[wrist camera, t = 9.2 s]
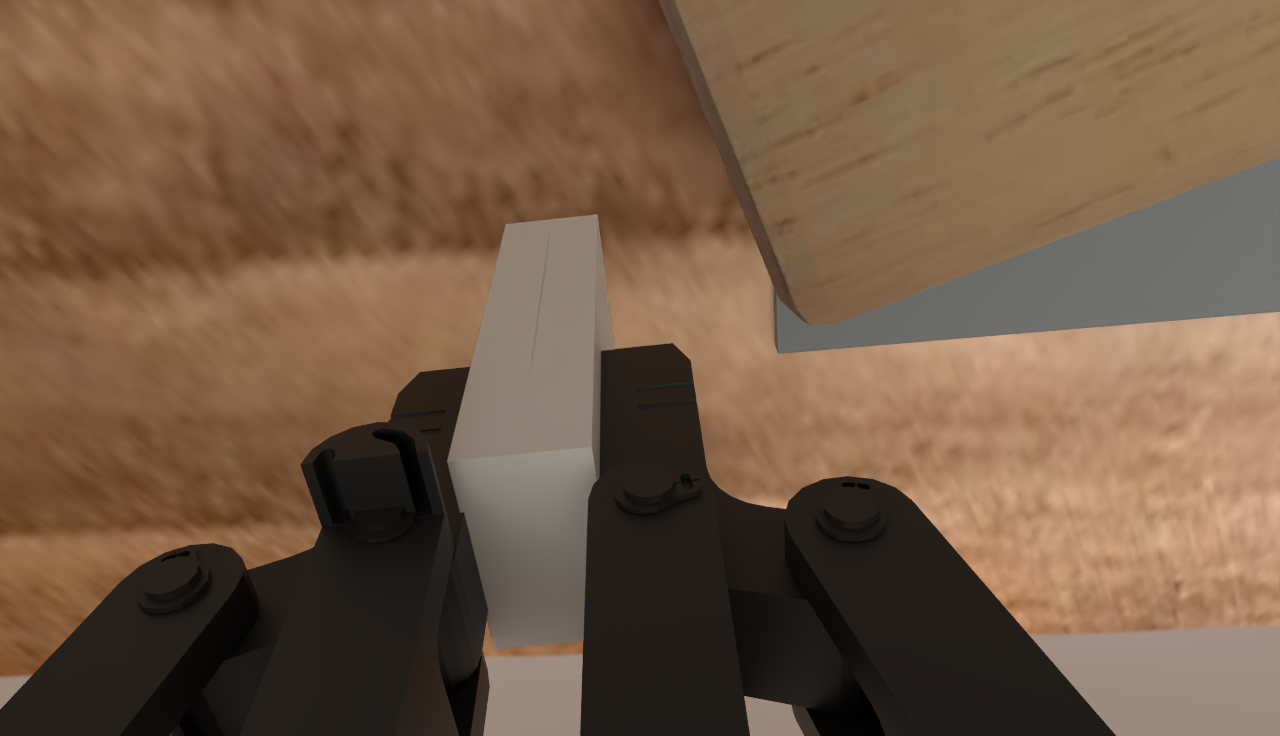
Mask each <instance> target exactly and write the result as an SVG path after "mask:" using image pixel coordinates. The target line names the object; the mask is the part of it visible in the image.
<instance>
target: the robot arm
mask: <svg viewBox="0 0 1280 736" xmlns="http://www.w3.org/2000/svg"><path fill="white" fill-rule="evenodd" d="M300 465H301V468H302V470H303V473H304V476H305V479H306V482H307V485H308V488H309V491H310V494H311V496H312V499H313V502H314V505H315V508H316V511H317V514H318V517H319V520H320V522H321V525H322V529H321V531H320V534H319V536H318V539H317V541H316V544H315V546H314V547H313V548H311V549H309V550H307V551H304V552H301V553H299V554H296V555H294V556H291V557H288V558H285V559H282V560H279V561H275V562H272V563H269V564H266V565H263V566H259V567H256V568H253V569H250V570H247V569H246V566H245V564H244V562H243V559H242V558H241V557H240V556H239V555H238V554H237V553H236V552H235V551H234V550H233V549H232V548H230V547H226V546H222V545H218V544H214V543H212V544H198V545H189V546H186V547H182V548H178V549H176V550H172V551H169V552H166V553H164V554H162V555H160V556H158V557H156V558H154V559H152V560H150V561H148V562H147V563H145V564H143V565H141V566H139V567H138V568H137V569H136V570H135V571H133V572H132V573H131V574H130V575H129V576H127V577H126V578H125V579H124V580H122V581H121V582H120V583H119V584H118V585H117V586H116V587H115V588H114V589H113V591H112V592H111V593H110V594H109V595H108V596H107V597H106V598H105V599H104V600H103V601H102V602H101V603H100V604H99V605H98V606H97V607H96V609H95V610H94V611H93V612H92V613H91V614H90V615H89V616H88V617H87V618H86V619H85V620H84V621H83V622H82V623H81V624H80V626H79V627H78V628H77V629H76V630H75V631H74V632H73V633H72V634H71V635H70V636H69V637H68V638H67V639H66V640H65V641H64V643H63V644H62V645H61V646H60V647H59V648H58V649H57V650H56V651H55V652H54V653H53V654H52V655H51V656H50V657H49V658H48V659H47V661H46V662H45V663H44V664H43V665H42V666H41V667H40V668H39V669H38V670H37V671H36V672H35V673H34V674H33V675H32V676H31V678H30V679H29V680H28V681H27V682H26V683H25V684H24V685H23V686H22V687H21V688H20V689H19V690H18V692H16V693H15V695H14V696H13V697H12V698H11V699H10V700H9V701H8V702H7V703H6V704H5V705H4V706H3V707H2V708H1V709H0V736H483V732H484V724H485V717H486V710H487V702H488V694H489V687H490V686H489V678H488V670H487V666H486V662H485V658H484V655H483V651H482V647H483V641H484V634H485V627H486V621H487V622H488V626H489V630H490V634H491V638H492V642H493V646H494V650H495V649H506V648H516V647H526V646H537V645H547V644H558V643H568V642H579V641H583V670H582V701H581V730H580V736H750V733H749V727H748V720H747V713H746V706H745V700H744V696H748V697H753V698H759V699H764V700H770V701H774V702H780V703H785V704H790V705H792V708H793V713H794V716H795V719H796V721H797V722H798V724H799V726H800V728H801V730H802V732H803V734H804V736H1116V735H1115V734H1114V733H1113V732H1112V730H1111V729H1110V728H1109V727H1108V726H1107V725H1106V724H1105V722H1104V721H1103V720H1102V719H1101V718H1100V717H1099V715H1097V713H1096V712H1095V711H1094V710H1093V709H1092V707H1091V706H1090V705H1089V704H1088V703H1087V702H1086V700H1085V699H1084V698H1083V697H1082V696H1081V695H1080V694H1079V692H1078V691H1077V690H1076V689H1075V688H1074V687H1073V686H1072V684H1071V683H1070V682H1069V681H1068V680H1067V679H1066V677H1065V676H1064V675H1063V674H1062V673H1061V672H1060V670H1058V668H1057V667H1056V666H1055V665H1054V664H1053V662H1052V661H1051V660H1050V659H1049V658H1048V657H1047V656H1046V655H1045V653H1044V652H1043V651H1042V650H1041V649H1040V647H1039V646H1038V645H1037V644H1036V643H1035V642H1034V640H1033V639H1032V638H1031V637H1030V636H1029V635H1028V634H1027V632H1026V631H1025V630H1024V629H1023V628H1022V627H1021V625H1020V624H1019V623H1018V622H1017V621H1016V620H1015V619H1014V617H1013V616H1012V615H1011V614H1010V613H1009V612H1008V610H1007V609H1006V608H1005V607H1004V606H1003V605H1002V604H1001V602H1000V601H999V600H998V599H997V598H996V597H995V595H994V594H993V593H992V592H991V591H990V590H989V589H988V587H987V586H986V585H985V584H984V583H983V582H982V580H981V579H980V578H979V577H978V576H977V575H976V574H975V572H974V571H973V570H972V569H971V568H970V567H969V565H968V564H967V563H966V562H965V561H964V560H963V559H962V557H961V556H960V555H959V554H958V553H957V552H956V550H955V549H954V548H953V547H952V546H951V545H950V543H949V542H948V541H947V540H946V539H945V538H944V537H943V535H942V534H941V533H940V532H939V531H938V530H937V528H936V527H935V526H934V525H933V524H932V523H931V522H930V520H929V519H928V518H927V517H926V516H925V515H924V513H923V512H922V511H921V510H920V509H919V508H918V507H917V505H916V504H915V503H914V502H913V501H912V500H911V499H910V498H908V497H907V496H906V495H904V494H903V493H902V492H901V491H899V490H898V489H897V488H895V487H893V486H890V485H887V484H885V483H882V482H879V481H877V480H874V479H867V478H858V477H849V476H846V477H838V478H830V479H823V480H820V481H818V482H816V483H813V484H811V485H808V486H806V487H804V488H802V489H801V490H800V491H799V492H798V493H797V494H796V495H795V496H794V497H793V498H791V499H790V500H789V502H788V505H787V508H786V509H781V508H773V507H765V506H760V505H755V504H751V503H746V502H744V501H741V500H739V499H736V498H734V497H731V496H730V495H728V494H727V493H725V492H724V491H723V490H721V489H720V488H718V486H717V485H716V484H715V483H714V482H713V481H712V479H711V478H710V475H709V473H708V470H707V467H706V460H705V454H704V447H703V441H702V434H701V427H700V421H699V414H698V408H697V402H696V394H695V388H694V381H693V375H692V368H691V361H690V360H689V359H688V358H687V357H686V356H685V355H684V354H683V353H682V352H681V351H680V350H679V349H678V348H677V347H676V346H675V345H674V344H673V343H671V344H661V345H651V346H642V347H632V348H622V349H615V344H614V336H613V329H612V321H611V313H610V306H609V298H608V291H607V283H606V276H605V268H604V260H603V253H602V245H601V238H600V230H599V222H598V215H597V214H596V215H586V216H577V217H568V218H558V219H549V220H540V221H530V222H521V223H512V224H506V226H505V230H504V234H503V238H502V242H501V246H500V250H499V254H498V258H497V262H496V266H495V270H494V274H493V278H492V282H491V286H490V290H489V294H488V298H487V302H486V306H485V310H484V314H483V318H482V322H481V326H480V330H479V335H478V339H477V343H476V347H475V351H474V355H473V359H472V363H471V367H465V368H455V369H445V370H436V371H426V372H420V373H419V374H418V375H417V376H416V377H415V378H414V379H413V380H412V381H411V382H410V383H409V384H408V385H407V386H406V387H405V388H404V389H402V390H401V391H400V392H399V394H398V396H397V399H396V402H395V405H394V408H393V410H392V413H391V420H389V421H388V422H377V423H372V424H367V425H362V426H357V427H353V428H350V429H348V430H346V431H343V432H341V433H338V434H336V435H334V436H331V437H329V438H328V439H327V440H325V441H324V442H322V443H321V444H319V445H318V446H317V447H315V448H314V449H312V450H311V451H310V453H309V454H308V455H307V457H306V458H305V459H304V461H303V462H302V463H301V464H300Z"/></svg>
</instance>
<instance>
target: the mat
mask: <svg viewBox="0 0 1280 736" xmlns="http://www.w3.org/2000/svg"><path fill="white" fill-rule="evenodd" d="M774 299H775V342H776V349H777V352H778V354H780V353H792V352H804V351H816V350H828V349H840V348H852V347H864V346H876V345H888V344H900V343H911V342H923V341H935V340H947V339H959V338H971V337H983V336H995V335H1007V334H1019V333H1031V332H1043V331H1055V330H1066V329H1078V328H1090V327H1102V326H1114V325H1126V324H1138V323H1150V322H1162V321H1174V320H1186V319H1198V318H1210V317H1221V316H1233V315H1245V314H1257V313H1269V312H1280V156H1279V157H1276V158H1274V159H1271V160H1268V161H1266V162H1263V163H1260V164H1258V165H1255V166H1253V167H1250V168H1247V169H1245V170H1242V171H1239V172H1237V173H1234V174H1231V175H1229V176H1226V177H1223V178H1221V179H1218V180H1216V181H1213V182H1210V183H1208V184H1205V185H1202V186H1200V187H1197V188H1194V189H1192V190H1189V191H1186V192H1184V193H1181V194H1179V195H1176V196H1173V197H1171V198H1168V199H1165V200H1163V201H1160V202H1157V203H1155V204H1152V205H1149V206H1147V207H1144V208H1142V209H1139V210H1136V211H1134V212H1131V213H1128V214H1126V215H1123V216H1120V217H1118V218H1115V219H1112V220H1110V221H1107V222H1105V223H1102V224H1099V225H1097V226H1094V227H1091V228H1089V229H1086V230H1083V231H1081V232H1078V233H1076V234H1073V235H1070V236H1068V237H1065V238H1062V239H1060V240H1057V241H1054V242H1052V243H1049V244H1046V245H1044V246H1041V247H1039V248H1036V249H1033V250H1031V251H1028V252H1025V253H1023V254H1020V255H1017V256H1015V257H1012V258H1009V259H1007V260H1004V261H1002V262H999V263H996V264H994V265H991V266H988V267H986V268H983V269H980V270H978V271H975V272H972V273H970V274H967V275H965V276H962V277H959V278H957V279H954V280H951V281H949V282H946V283H943V284H941V285H938V286H935V287H933V288H930V289H928V290H925V291H922V292H920V293H917V294H914V295H912V296H909V297H906V298H904V299H901V300H899V301H896V302H893V303H891V304H888V305H885V306H883V307H880V308H877V309H875V310H872V311H869V312H867V313H864V314H862V315H859V316H856V317H854V318H851V319H848V320H846V321H843V322H840V323H837V324H823V325H808V324H807V323H805V322H804V321H802V320H801V319H800V318H799V317H798V316H797V315H796V314H795V313H794V312H792V311H791V310H790V309H789V308H788V307H787V306H786V305H785V304H784V303H783V302H782V301H781V300H780V299H779V297H778V295H777V292H776V290H775V287H774Z"/></svg>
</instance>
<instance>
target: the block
mask: <svg viewBox="0 0 1280 736" xmlns="http://www.w3.org/2000/svg"><path fill="white" fill-rule="evenodd" d="M658 1H659V3H660V6H661V8H662V11H663V13H664V16H665V18H666V21H667V23H668V26H669V28H670V31H671V33H672V36H673V38H674V41H675V43H676V45H677V48H678V50H679V53H680V55H681V58H682V60H683V63H684V65H685V68H686V70H687V73H688V75H689V78H690V80H691V82H692V85H693V87H694V90H695V92H696V95H697V97H698V100H699V102H700V105H701V107H702V110H703V112H704V115H705V117H706V119H707V122H708V124H709V127H710V129H711V132H712V134H713V137H714V139H715V142H716V144H717V147H718V149H719V152H720V154H721V156H722V159H723V161H724V164H725V166H726V169H727V171H728V174H729V176H730V179H731V181H732V184H733V186H734V189H735V191H736V194H737V196H738V198H739V201H740V203H741V206H742V208H743V211H744V213H745V216H746V218H747V221H748V223H749V226H750V228H751V231H752V233H753V235H754V238H755V240H756V243H757V245H758V248H759V250H760V253H761V255H762V258H763V260H764V263H765V265H766V268H767V270H768V272H769V275H770V277H771V280H772V282H773V285H774V287H775V290H776V292H777V295H778V297H779V299H780V300H781V301H782V302H783V303H784V304H785V305H786V306H787V307H788V308H789V309H790V310H791V311H792V312H794V313H795V314H796V315H797V316H798V317H799V318H800V319H801V320H802V321H804V322H805V323H807V324H808V325H823V324H837V323H840V322H843V321H846V320H848V319H851V318H854V317H856V316H859V315H862V314H864V313H867V312H869V311H872V310H875V309H877V308H880V307H883V306H885V305H888V304H891V303H893V302H896V301H899V300H901V299H904V298H906V297H909V296H912V295H914V294H917V293H920V292H922V291H925V290H928V289H930V288H933V287H935V286H938V285H941V284H943V283H946V282H949V281H951V280H954V279H957V278H959V277H962V276H965V275H967V274H970V273H972V272H975V271H978V270H980V269H983V268H986V267H988V266H991V265H994V264H996V263H999V262H1002V261H1004V260H1007V259H1009V258H1012V257H1015V256H1017V255H1020V254H1023V253H1025V252H1028V251H1031V250H1033V249H1036V248H1039V247H1041V246H1044V245H1046V244H1049V243H1052V242H1054V241H1057V240H1060V239H1062V238H1065V237H1068V236H1070V235H1073V234H1076V233H1078V232H1081V231H1083V230H1086V229H1089V228H1091V227H1094V226H1097V225H1099V224H1102V223H1105V222H1107V221H1110V220H1112V219H1115V218H1118V217H1120V216H1123V215H1126V214H1128V213H1131V212H1134V211H1136V210H1139V209H1142V208H1144V207H1147V206H1149V205H1152V204H1155V203H1157V202H1160V201H1163V200H1165V199H1168V198H1171V197H1173V196H1176V195H1179V194H1181V193H1184V192H1186V191H1189V190H1192V189H1194V188H1197V187H1200V186H1202V185H1205V184H1208V183H1210V182H1213V181H1216V180H1218V179H1221V178H1223V177H1226V176H1229V175H1231V174H1234V173H1237V172H1239V171H1242V170H1245V169H1247V168H1250V167H1253V166H1255V165H1258V164H1260V163H1263V162H1266V161H1268V160H1271V159H1274V158H1276V157H1279V156H1280V0H658Z"/></svg>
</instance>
